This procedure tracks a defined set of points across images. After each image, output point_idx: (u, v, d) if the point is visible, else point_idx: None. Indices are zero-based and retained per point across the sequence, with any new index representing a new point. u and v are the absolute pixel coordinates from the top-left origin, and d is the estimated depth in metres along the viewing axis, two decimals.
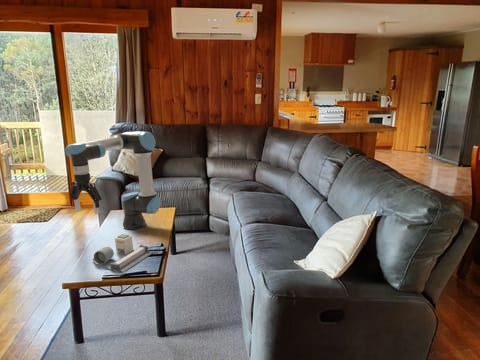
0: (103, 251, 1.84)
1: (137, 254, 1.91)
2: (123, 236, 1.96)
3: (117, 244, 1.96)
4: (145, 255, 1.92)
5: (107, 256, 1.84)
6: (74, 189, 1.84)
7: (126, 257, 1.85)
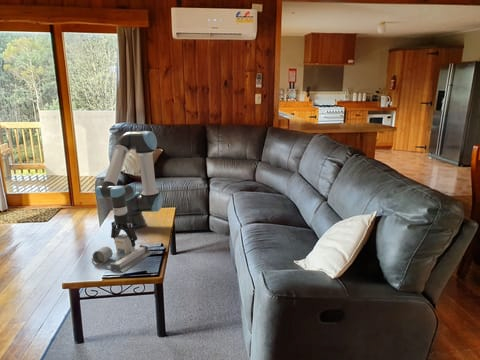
0: (102, 251, 1.84)
1: (137, 254, 1.91)
2: (123, 236, 1.96)
3: (117, 244, 1.96)
4: (145, 255, 1.92)
5: (106, 256, 1.84)
6: (114, 229, 1.98)
7: (126, 257, 1.85)
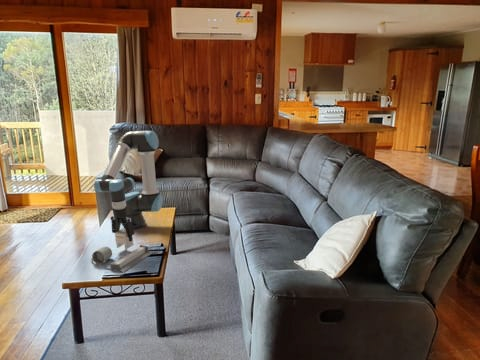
0: (101, 251, 1.84)
1: (137, 254, 1.91)
2: (123, 231, 1.96)
3: (117, 239, 1.96)
4: (145, 255, 1.92)
5: (105, 256, 1.84)
6: (114, 223, 1.98)
7: (126, 257, 1.85)
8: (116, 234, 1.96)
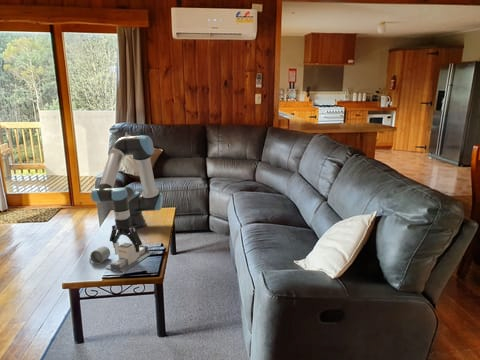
0: (100, 251, 1.84)
1: None
2: (126, 245, 1.83)
3: (120, 253, 1.83)
4: (145, 255, 1.92)
5: (104, 256, 1.85)
6: (114, 232, 1.85)
7: None
8: (118, 248, 1.82)
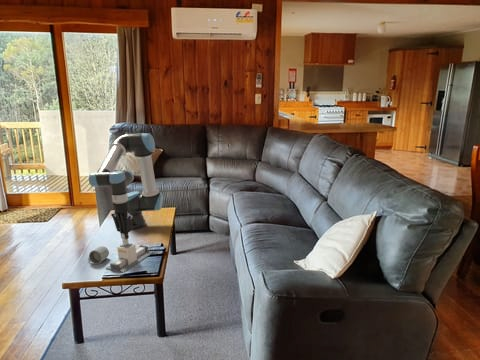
0: (98, 250, 1.85)
1: (137, 254, 1.91)
2: (126, 245, 1.83)
3: (120, 253, 1.83)
4: (145, 255, 1.92)
5: (102, 255, 1.85)
6: (116, 220, 1.82)
7: None
8: (118, 248, 1.82)
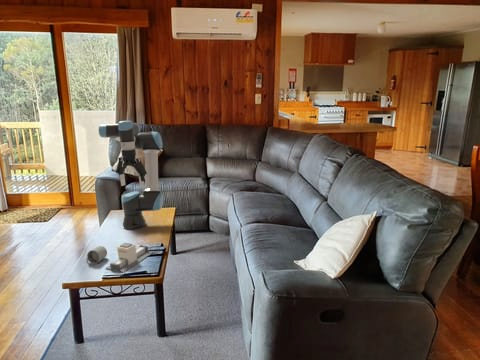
0: (96, 250, 1.85)
1: (137, 254, 1.91)
2: (126, 245, 1.83)
3: (120, 253, 1.83)
4: (145, 255, 1.92)
5: (100, 255, 1.85)
6: (120, 164, 1.97)
7: None
8: (118, 248, 1.82)
